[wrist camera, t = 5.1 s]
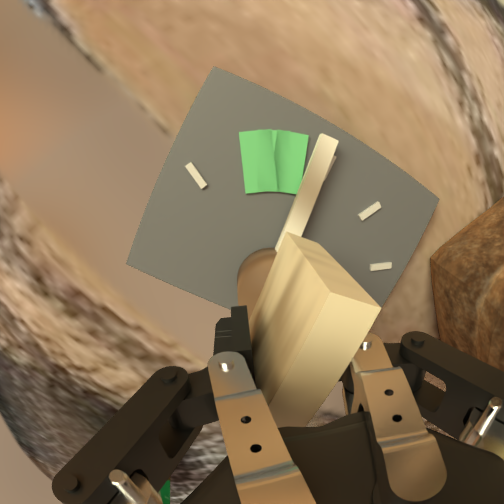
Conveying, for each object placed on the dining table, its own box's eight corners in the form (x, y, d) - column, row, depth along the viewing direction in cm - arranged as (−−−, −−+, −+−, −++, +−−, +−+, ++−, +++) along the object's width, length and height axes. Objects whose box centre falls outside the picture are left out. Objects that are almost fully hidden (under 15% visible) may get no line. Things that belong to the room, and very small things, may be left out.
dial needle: (278, 334, 19) (309, 453, 10) (220, 317, 19) (214, 441, 9) (356, 152, 16) (472, 153, 7) (294, 124, 15) (369, 82, 6)
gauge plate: (344, 342, 22) (351, 354, 20) (133, 256, 19) (125, 265, 17) (427, 196, 19) (441, 199, 17) (215, 73, 16) (213, 65, 14)
